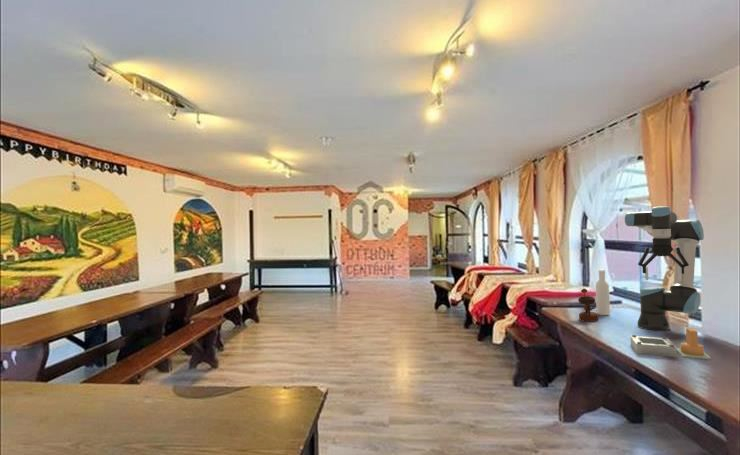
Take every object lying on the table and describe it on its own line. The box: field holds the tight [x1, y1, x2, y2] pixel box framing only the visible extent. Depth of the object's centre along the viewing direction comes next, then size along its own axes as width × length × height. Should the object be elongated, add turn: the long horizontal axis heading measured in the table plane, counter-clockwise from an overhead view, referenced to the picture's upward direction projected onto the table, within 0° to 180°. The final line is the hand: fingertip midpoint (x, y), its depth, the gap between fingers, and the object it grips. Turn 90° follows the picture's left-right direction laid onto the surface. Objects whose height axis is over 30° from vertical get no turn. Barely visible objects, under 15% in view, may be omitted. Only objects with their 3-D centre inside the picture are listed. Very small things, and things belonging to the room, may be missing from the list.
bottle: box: [595, 268, 611, 316], centre depth 262 cm, size 8×8×30 cm
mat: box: [676, 347, 712, 360], centre depth 178 cm, size 12×10×1 cm
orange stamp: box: [680, 327, 705, 356], centre depth 178 cm, size 8×8×10 cm
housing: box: [629, 334, 678, 358], centre depth 185 cm, size 15×15×5 cm
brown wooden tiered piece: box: [578, 287, 599, 322], centre depth 248 cm, size 15×11×20 cm
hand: (663, 280), depth 195 cm, fingers open, 13 cm apart
